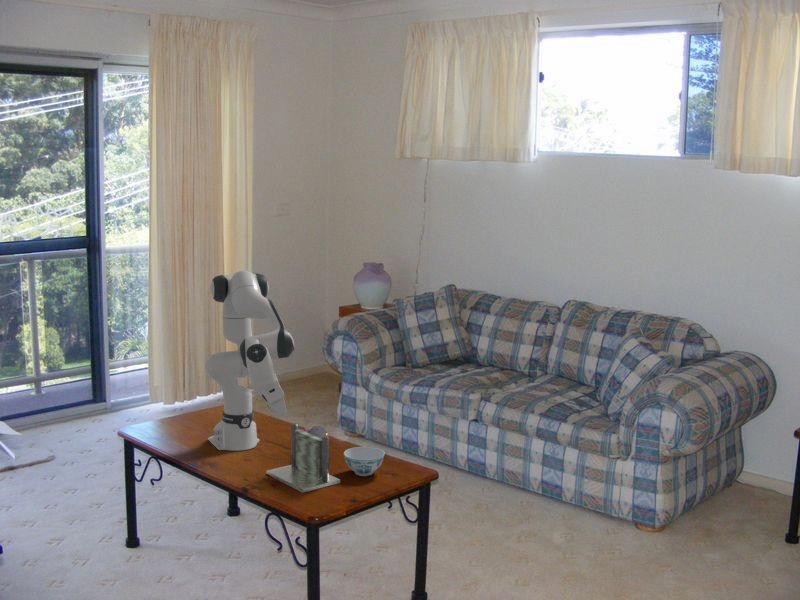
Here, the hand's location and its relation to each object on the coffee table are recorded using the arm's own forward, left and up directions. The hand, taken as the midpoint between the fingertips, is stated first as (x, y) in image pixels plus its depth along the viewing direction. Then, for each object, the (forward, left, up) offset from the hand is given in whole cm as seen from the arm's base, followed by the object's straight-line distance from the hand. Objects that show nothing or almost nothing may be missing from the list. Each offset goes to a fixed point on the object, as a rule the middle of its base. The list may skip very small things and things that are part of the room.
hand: (271, 407), depth 311 cm
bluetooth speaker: (-8, +25, -26) cm, 37 cm away
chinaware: (+17, +29, -26) cm, 43 cm away
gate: (+8, +11, -24) cm, 27 cm away
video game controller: (-26, +34, -26) cm, 50 cm away
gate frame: (+8, +8, -26) cm, 28 cm away
